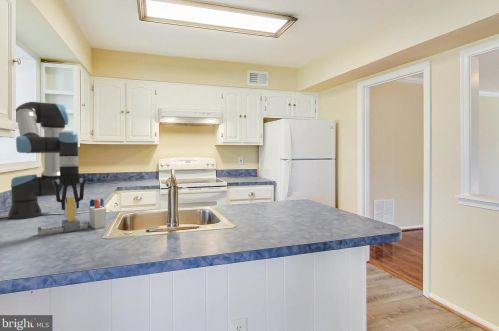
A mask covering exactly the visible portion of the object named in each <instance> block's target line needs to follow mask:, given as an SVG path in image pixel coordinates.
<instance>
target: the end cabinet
mask: <svg viewBox="0 0 499 331" xmlns="http://www.w3.org/2000/svg"><path fill="white" fill-rule="evenodd" d="M88 210H89V211H88V212H89V214H88V215H89V216H88V217H89V226H90V227H92V228H94V229H103V228H107V208H106V207H105V206H104V207H102V206H100V208H97V209H95V207H90V206H89V207H88Z"/></svg>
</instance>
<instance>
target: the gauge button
mask: <svg viewBox="0 0 499 331" xmlns="http://www.w3.org/2000/svg"><path fill="white" fill-rule="evenodd" d="M94 207H95V209H97V208H100V199H95V200H94Z"/></svg>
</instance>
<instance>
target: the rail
mask: <svg viewBox="0 0 499 331" xmlns="http://www.w3.org/2000/svg"><path fill="white" fill-rule="evenodd" d="M84 229H85V230H86V229H88V221H87V220H83V222H82V223H80V230H84ZM59 233H66V232H65V228H64V226H62V225H61V226H56V227H49V228H42V227H41V226H40V227H37V236H39V237H40V236H41V237H42V236H45V235H52V234H59Z"/></svg>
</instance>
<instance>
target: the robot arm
mask: <svg viewBox="0 0 499 331" xmlns="http://www.w3.org/2000/svg"><path fill="white" fill-rule="evenodd" d="M15 110H16V121H15V122H16V123H17V126H18V127H17V128H18V132H19V135H18V136H17V137H16V138H15V145H16V146H15V148H16V152H17V153H19V154H20V153H21V154H43V155H44V170H43V171H42V172H41V176H38V175H37V174H35V173H34V174H26V175H25V174H24V175H19V176H15V177H13V178H11V179H10V180H11V181H10V187H11V205H10V207H9V211H8V215H7V216H8V219H10V220H20V219H31V218H35V217H36V218H37V217H39V216H42V215H43V214H42V212H43V211H42V209H41V206H40V204H39V201H38V198H40V197H50V196H51V197H53V196H55V200H56V202H58V203H60V206H61V207H60V208H61V210H62V211H64V213H63V214H64V217H65V218H66V217H67V203H66V197H67V192H68V187H70V186H71V188H72V191H73V192H72V193H73V197H74V199H75V217H77V216H78V214H77V209H79V208H80V201H83V200H84V195H85V194H84V193H85V185H86V184H85V183H86V182H87V179H85V178H82V177H81V176H80V172H79V170H80V169H79V138H78V133H77V132H74V131H73V132H72V131H63V130H64V129H65V128H66V126H68V124H69V114H68V110H67V108H66V106H65V105H64V104H62V103H61V104H59V103H52V102H51V103H50V102H38V101H28V102H25V103H22V104H21V105H18V106H17V107H16V108H15ZM37 124H40V128H42V129H43V134H44V135H43V136H41V135H40V132H39V129H38V125H37ZM78 182H79V183H80V184H79V194H78V189H77V183H78Z"/></svg>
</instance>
